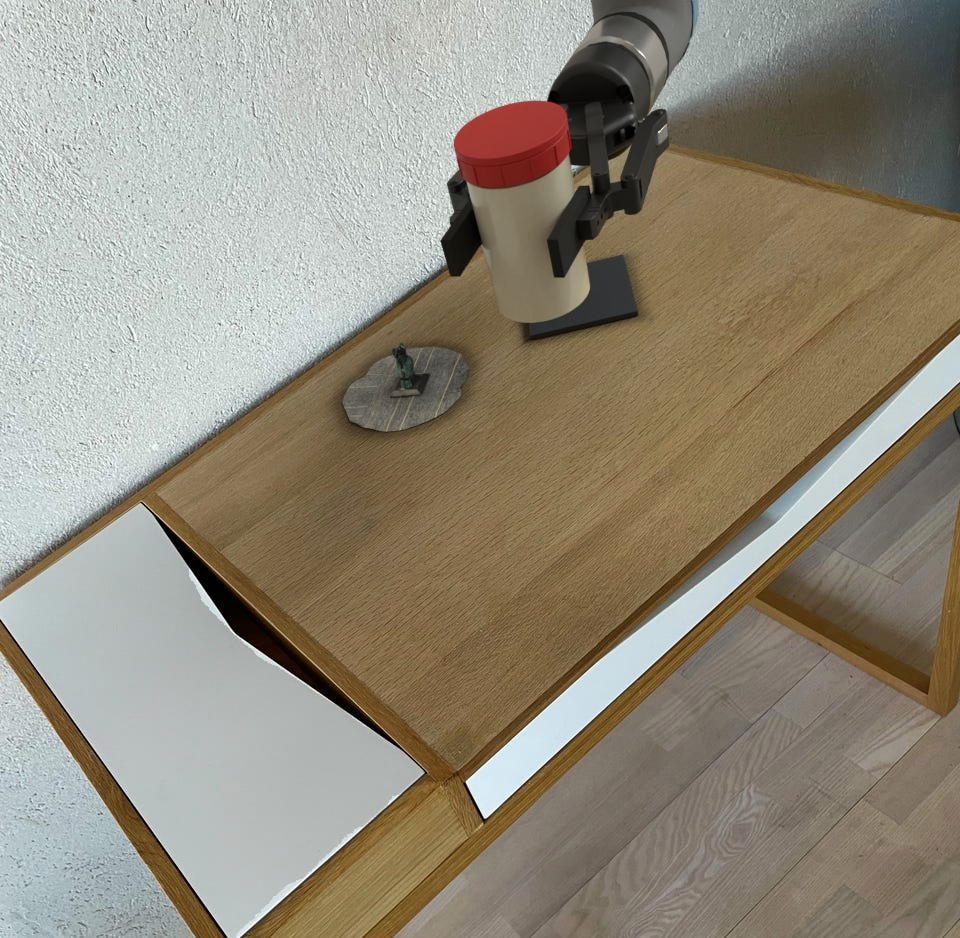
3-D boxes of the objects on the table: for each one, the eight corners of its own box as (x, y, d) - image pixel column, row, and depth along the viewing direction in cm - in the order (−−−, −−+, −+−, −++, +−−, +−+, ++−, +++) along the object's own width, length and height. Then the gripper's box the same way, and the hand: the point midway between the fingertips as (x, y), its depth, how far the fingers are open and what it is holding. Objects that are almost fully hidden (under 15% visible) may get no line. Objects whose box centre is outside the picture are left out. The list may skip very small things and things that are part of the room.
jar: (584, 258, 72) (559, 101, 63) (595, 309, 68) (569, 148, 59) (494, 280, 73) (457, 128, 64) (499, 332, 69) (460, 176, 60)
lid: (565, 118, 64) (560, 89, 63) (577, 169, 60) (572, 139, 58) (458, 147, 66) (451, 119, 64) (462, 199, 61) (454, 170, 59)
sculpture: (448, 335, 93) (451, 304, 85) (480, 423, 93) (487, 400, 85) (331, 375, 92) (323, 347, 84) (364, 464, 92) (359, 445, 84)
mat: (623, 258, 93) (623, 254, 93) (638, 315, 87) (637, 310, 86) (523, 282, 95) (522, 278, 94) (530, 340, 88) (529, 335, 88)
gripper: (734, 134, 74) (652, 311, 62) (501, 146, 82) (389, 305, 70) (732, 28, 68) (640, 201, 56) (481, 52, 76) (356, 208, 65)
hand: (501, 258), depth 63 cm, fingers closed on jar, 7 cm apart
